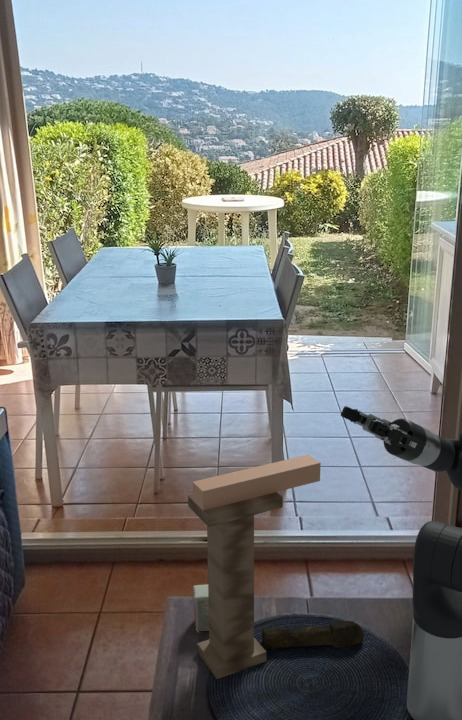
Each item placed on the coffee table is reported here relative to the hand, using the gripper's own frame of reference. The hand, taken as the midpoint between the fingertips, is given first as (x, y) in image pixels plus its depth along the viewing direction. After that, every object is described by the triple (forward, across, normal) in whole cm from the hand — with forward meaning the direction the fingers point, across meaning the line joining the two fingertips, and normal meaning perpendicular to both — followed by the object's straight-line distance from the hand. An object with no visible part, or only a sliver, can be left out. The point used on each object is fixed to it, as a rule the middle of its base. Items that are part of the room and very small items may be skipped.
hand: (357, 418), depth 137 cm
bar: (+16, +3, +18) cm, 25 cm away
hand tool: (-8, +7, +42) cm, 43 cm away
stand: (+5, +3, +49) cm, 49 cm away
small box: (+5, -7, +49) cm, 50 cm away
